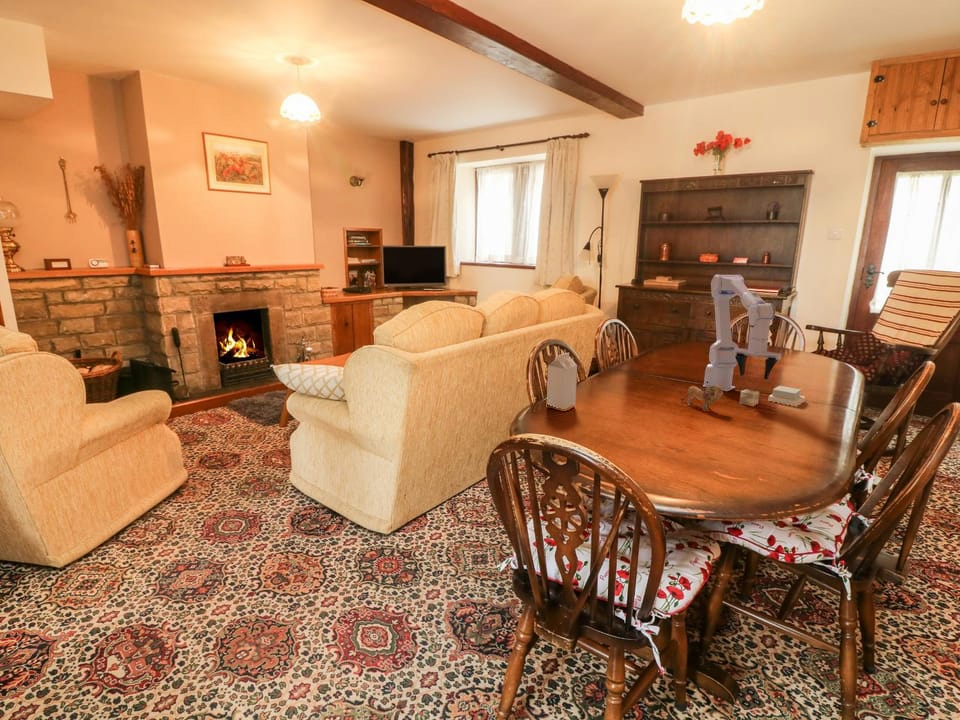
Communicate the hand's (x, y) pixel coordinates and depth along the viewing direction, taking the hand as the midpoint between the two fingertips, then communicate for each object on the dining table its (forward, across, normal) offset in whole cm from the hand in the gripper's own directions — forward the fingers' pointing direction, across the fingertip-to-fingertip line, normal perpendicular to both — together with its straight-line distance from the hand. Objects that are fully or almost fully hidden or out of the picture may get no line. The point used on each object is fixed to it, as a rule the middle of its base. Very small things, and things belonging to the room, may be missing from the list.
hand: (753, 377), depth 172 cm
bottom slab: (+10, +8, +13) cm, 18 cm away
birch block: (+10, -1, 0) cm, 10 cm away
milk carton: (+10, -44, -52) cm, 69 cm away
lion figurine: (+10, -11, -16) cm, 22 cm away
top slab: (+8, +8, +13) cm, 17 cm away
